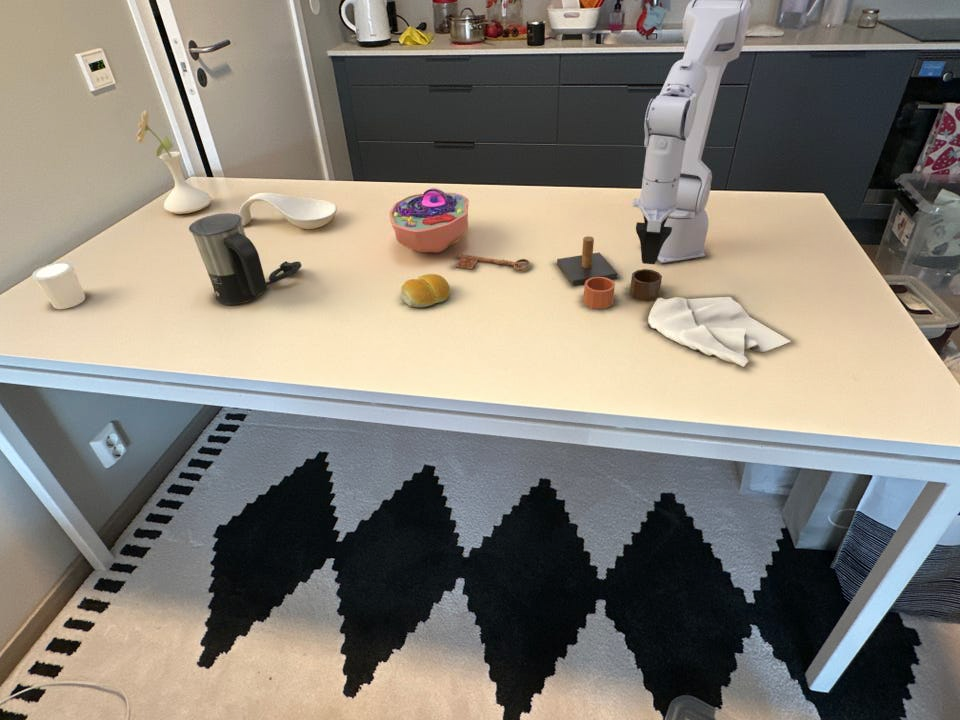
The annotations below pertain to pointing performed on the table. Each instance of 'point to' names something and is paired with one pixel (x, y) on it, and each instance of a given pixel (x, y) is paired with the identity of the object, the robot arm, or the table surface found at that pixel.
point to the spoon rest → (293, 209)
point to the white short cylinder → (59, 284)
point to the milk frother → (233, 259)
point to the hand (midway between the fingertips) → (650, 252)
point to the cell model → (430, 220)
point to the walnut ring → (645, 284)
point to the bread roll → (425, 290)
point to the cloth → (713, 327)
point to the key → (472, 261)
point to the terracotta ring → (599, 292)
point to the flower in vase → (176, 177)
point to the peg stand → (586, 265)
